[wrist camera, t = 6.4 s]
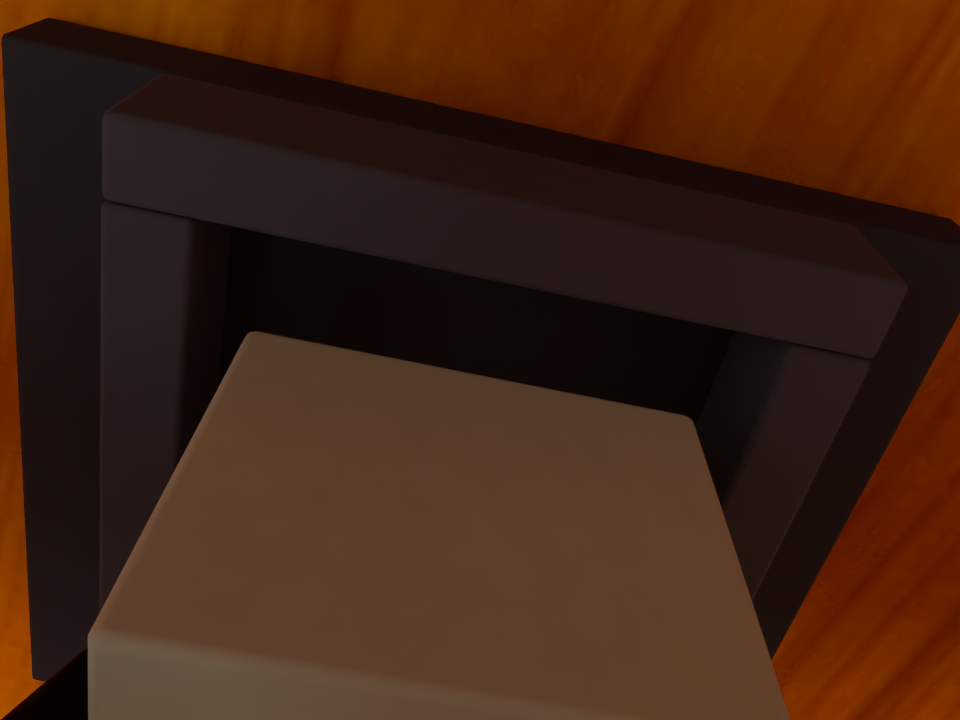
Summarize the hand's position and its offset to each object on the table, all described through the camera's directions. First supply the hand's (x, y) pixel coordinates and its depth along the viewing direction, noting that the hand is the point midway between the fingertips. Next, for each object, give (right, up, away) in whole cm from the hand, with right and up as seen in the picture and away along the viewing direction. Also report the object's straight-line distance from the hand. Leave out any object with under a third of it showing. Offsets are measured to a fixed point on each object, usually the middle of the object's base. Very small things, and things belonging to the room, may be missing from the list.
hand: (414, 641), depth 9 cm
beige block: (0, 0, 0) cm, 0 cm away
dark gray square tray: (0, +2, +3) cm, 3 cm away
